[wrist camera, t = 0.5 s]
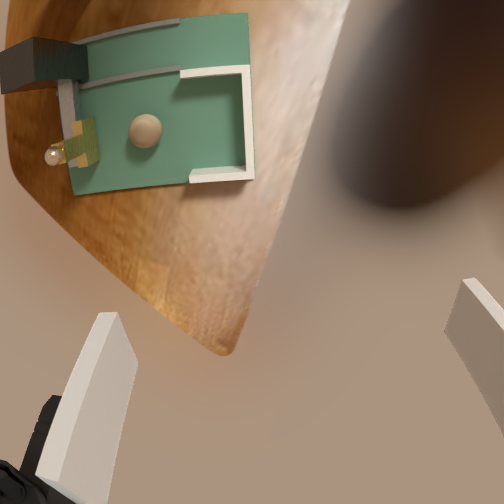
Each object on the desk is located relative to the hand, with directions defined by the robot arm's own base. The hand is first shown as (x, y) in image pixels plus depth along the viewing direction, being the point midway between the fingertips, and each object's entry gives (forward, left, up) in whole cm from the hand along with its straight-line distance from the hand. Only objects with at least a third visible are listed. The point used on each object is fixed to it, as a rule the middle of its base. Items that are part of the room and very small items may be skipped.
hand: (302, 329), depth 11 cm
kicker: (-9, -20, -26) cm, 34 cm away
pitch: (-7, -11, -27) cm, 30 cm away
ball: (-5, -12, -24) cm, 27 cm away
